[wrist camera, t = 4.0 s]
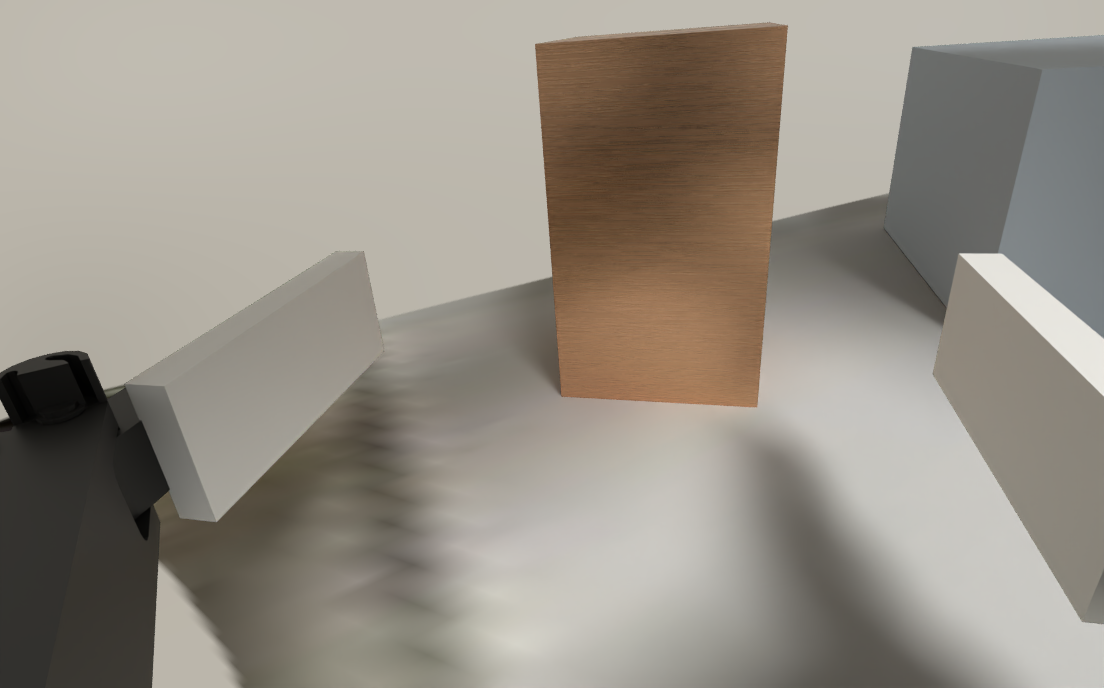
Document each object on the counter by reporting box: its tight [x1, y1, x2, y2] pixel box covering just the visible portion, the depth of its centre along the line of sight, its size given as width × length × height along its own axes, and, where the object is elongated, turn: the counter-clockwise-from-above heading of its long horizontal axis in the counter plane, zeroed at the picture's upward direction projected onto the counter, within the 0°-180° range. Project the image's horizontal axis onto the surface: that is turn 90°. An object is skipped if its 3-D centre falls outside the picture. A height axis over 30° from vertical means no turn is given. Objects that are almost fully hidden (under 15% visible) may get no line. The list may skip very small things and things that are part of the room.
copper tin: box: [535, 23, 788, 407], centre depth 24 cm, size 7×7×12 cm
